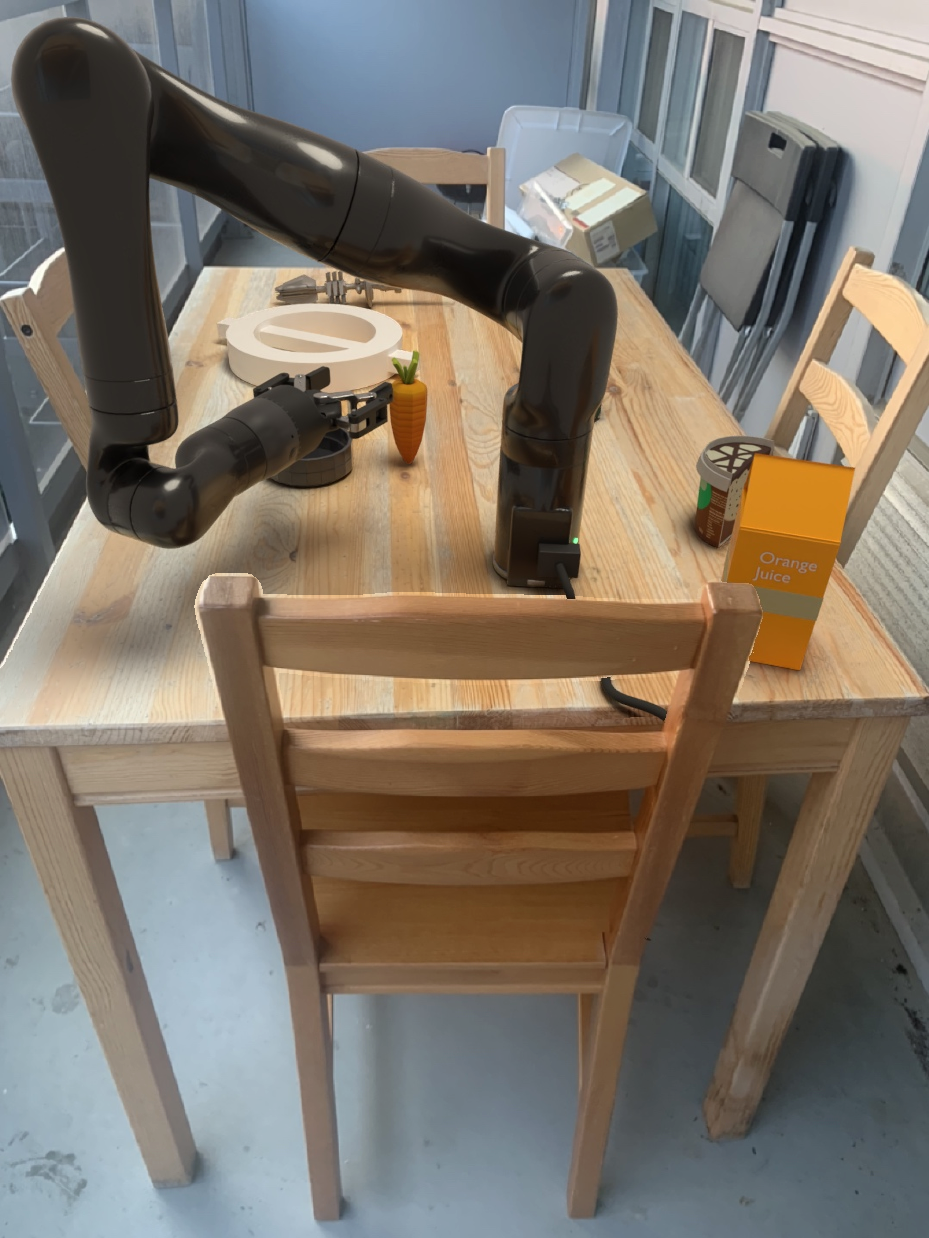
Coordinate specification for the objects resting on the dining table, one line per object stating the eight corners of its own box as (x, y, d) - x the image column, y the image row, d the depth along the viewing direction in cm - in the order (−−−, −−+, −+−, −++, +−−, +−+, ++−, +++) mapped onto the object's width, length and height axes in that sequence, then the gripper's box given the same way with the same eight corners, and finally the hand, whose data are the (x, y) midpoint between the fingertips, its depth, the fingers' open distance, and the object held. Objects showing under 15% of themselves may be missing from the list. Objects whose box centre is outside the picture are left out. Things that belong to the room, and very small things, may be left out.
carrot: (394, 474, 119) (392, 362, 110) (386, 457, 123) (384, 347, 114) (431, 470, 120) (432, 359, 111) (422, 453, 124) (423, 345, 115)
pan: (346, 491, 115) (345, 462, 113) (253, 487, 115) (249, 458, 113) (358, 449, 125) (357, 422, 122) (272, 445, 125) (269, 418, 122)
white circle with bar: (426, 381, 145) (426, 352, 142) (248, 402, 136) (244, 371, 133) (373, 324, 165) (373, 297, 162) (216, 339, 156) (212, 311, 154)
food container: (713, 497, 117) (729, 424, 111) (758, 513, 114) (777, 439, 108) (665, 534, 109) (679, 458, 103) (712, 553, 106) (730, 475, 100)
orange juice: (800, 671, 89) (859, 487, 77) (708, 653, 91) (752, 471, 79) (799, 625, 95) (854, 449, 83) (712, 610, 97) (754, 435, 85)
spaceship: (463, 272, 166) (459, 244, 170) (270, 290, 165) (271, 262, 169) (465, 307, 173) (461, 279, 177) (279, 325, 172) (280, 297, 176)
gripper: (322, 415, 88) (411, 363, 100) (208, 384, 93) (305, 338, 105) (327, 485, 93) (411, 427, 104) (218, 451, 98) (309, 400, 109)
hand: (358, 382), depth 105 cm, fingers open, 8 cm apart
